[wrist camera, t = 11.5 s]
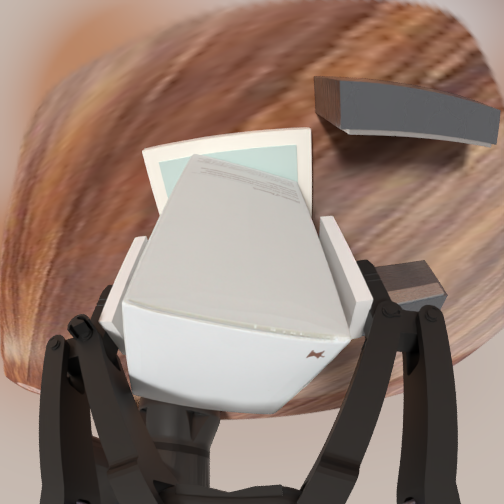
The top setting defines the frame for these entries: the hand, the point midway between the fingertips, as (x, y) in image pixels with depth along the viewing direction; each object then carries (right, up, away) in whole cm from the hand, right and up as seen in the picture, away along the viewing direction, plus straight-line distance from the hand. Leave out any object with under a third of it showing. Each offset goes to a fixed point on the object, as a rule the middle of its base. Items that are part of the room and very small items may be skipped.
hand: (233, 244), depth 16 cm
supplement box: (0, +3, +3) cm, 4 cm away
